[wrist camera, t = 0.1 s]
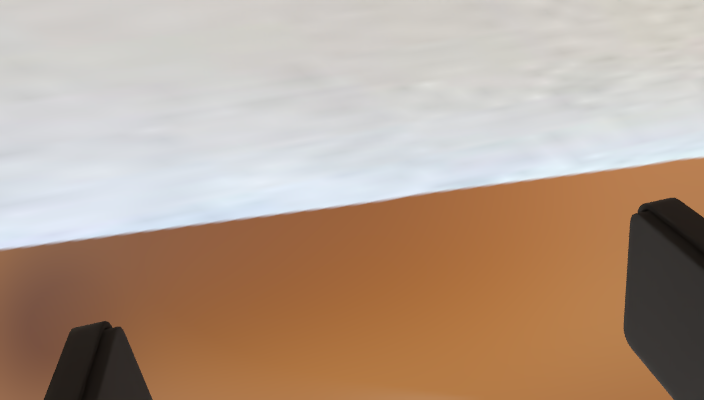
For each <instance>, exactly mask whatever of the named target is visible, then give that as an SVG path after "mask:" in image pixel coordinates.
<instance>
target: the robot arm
mask: <svg viewBox="0 0 704 400" xmlns="http://www.w3.org/2000/svg"><path fill="white" fill-rule="evenodd" d="M624 334H625V337H626V340H627V342H628V344H629V346H630V347H631V348H632V349H633V351H634V352H635V353H636V354H637V356H638V357H639V358H640V359H641V360H642V362H643V363H644V364H645V365H646V366H647V368H648V369H649V370H650V371H651V372H652V374H653V375H654V376H655V377H656V379H657V380H658V381H659V382H660V383H661V384H662V386H663V387H664V388H665V389H666V391H667V392H668V393H669V394H670V395H671V397H672V398H673V399H674V400H704V218H703V217H702V216H701V215H699V214H698V213H696V212H695V211H694V210H692V209H691V208H690V207H688V206H686V205H685V204H684V203H683V202H681V201H680V200H678V199H676V198H668V199H664V200H659V201H655V202H650V203H645V204H643V205H641V206H640V207H639V209H638V213H636V214H634V215H632V217H631V221H630V233H629V249H628V266H627V281H626V297H625V313H624ZM44 400H152V397H151V395H150V393H149V390H148V388H147V385H146V383H145V381H144V378H143V376H142V373H141V371H140V369H139V366H138V364H137V361H136V359H135V357H134V354H133V352H132V349H131V347H130V345H129V342H128V340H127V337H126V335H125V333H124V331H123V329H122V328H121V327H115V328H112V326H111V325H110V323H109V322H106V321H103V322H99V323H94V324H90V325H85V326H81V327H76V328H73V329H72V330H71V331H70V333H69V336H68V338H67V341H66V343H65V346H64V349H63V351H62V354H61V356H60V359H59V362H58V364H57V367H56V370H55V372H54V374H53V377H52V380H51V382H50V385H49V388H48V390H47V393H46V395H45V398H44Z"/></svg>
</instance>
